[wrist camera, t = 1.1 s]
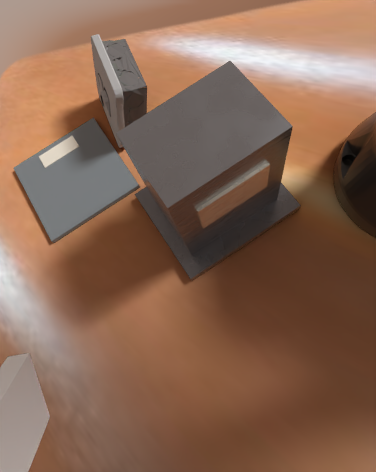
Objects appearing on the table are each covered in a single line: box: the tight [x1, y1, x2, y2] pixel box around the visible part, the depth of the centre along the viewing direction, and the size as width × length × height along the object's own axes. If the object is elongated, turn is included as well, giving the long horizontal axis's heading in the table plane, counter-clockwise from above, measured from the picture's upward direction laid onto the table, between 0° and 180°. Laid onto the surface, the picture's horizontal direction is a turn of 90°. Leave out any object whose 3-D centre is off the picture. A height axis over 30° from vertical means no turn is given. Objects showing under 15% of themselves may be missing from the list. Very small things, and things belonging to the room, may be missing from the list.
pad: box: [14, 118, 140, 243], centre depth 44 cm, size 12×12×1 cm
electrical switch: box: [91, 34, 147, 148], centre depth 42 cm, size 9×5×9 cm, turn 22°
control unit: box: [116, 61, 301, 281], centre depth 34 cm, size 14×12×14 cm
